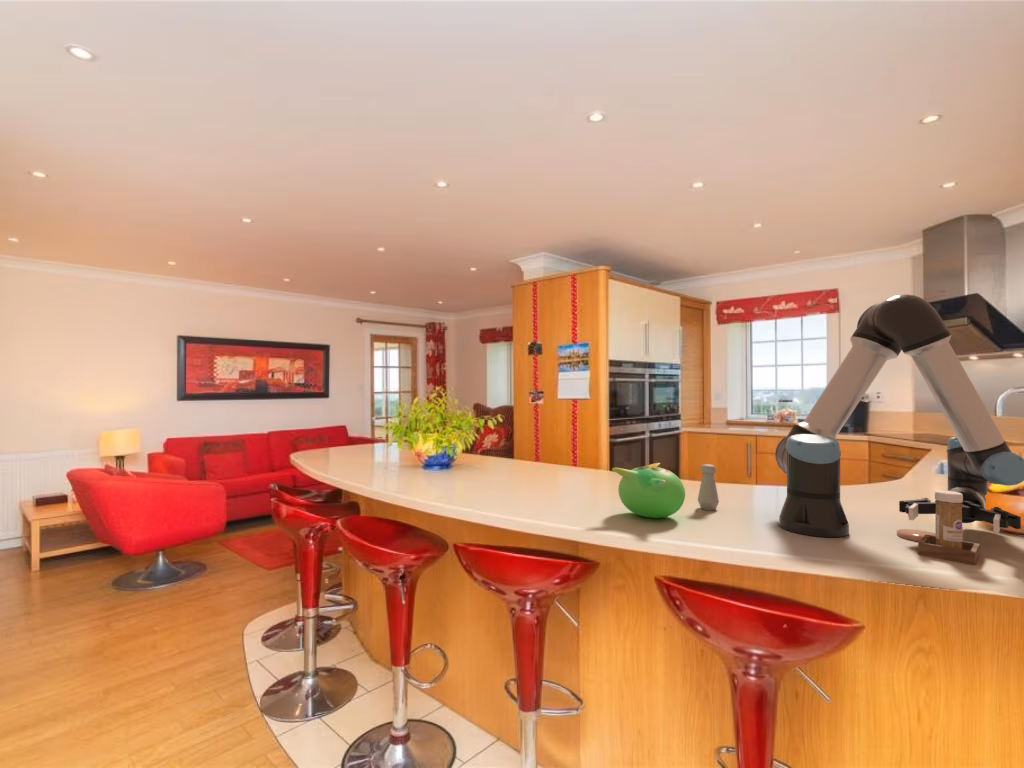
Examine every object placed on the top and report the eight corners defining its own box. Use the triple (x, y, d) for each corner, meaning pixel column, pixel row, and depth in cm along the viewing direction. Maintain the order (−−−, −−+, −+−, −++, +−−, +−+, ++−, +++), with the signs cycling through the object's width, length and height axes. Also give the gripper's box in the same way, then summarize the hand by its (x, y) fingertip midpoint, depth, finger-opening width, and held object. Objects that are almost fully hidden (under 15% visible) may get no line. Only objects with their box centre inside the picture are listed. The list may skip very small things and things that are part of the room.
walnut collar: (975, 565, 101) (975, 552, 101) (918, 554, 107) (918, 542, 107) (979, 555, 107) (979, 543, 107) (925, 545, 113) (925, 534, 113)
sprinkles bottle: (956, 559, 104) (955, 494, 104) (930, 553, 108) (929, 490, 108) (968, 556, 106) (967, 492, 106) (942, 550, 110) (941, 489, 110)
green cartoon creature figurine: (694, 517, 139) (694, 463, 139) (667, 529, 126) (667, 470, 126) (635, 506, 151) (635, 457, 151) (605, 517, 138) (605, 463, 138)
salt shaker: (720, 511, 145) (720, 466, 145) (699, 510, 146) (699, 465, 146) (716, 506, 151) (716, 463, 151) (696, 506, 152) (696, 463, 152)
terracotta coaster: (913, 542, 116) (913, 539, 116) (888, 531, 125) (888, 528, 125) (955, 543, 115) (955, 540, 115) (926, 532, 124) (926, 529, 124)
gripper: (1038, 531, 111) (1036, 551, 97) (898, 511, 130) (879, 525, 115) (1037, 497, 112) (1036, 512, 97) (898, 482, 130) (879, 493, 115)
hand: (951, 519), depth 106 cm, fingers open, 13 cm apart
